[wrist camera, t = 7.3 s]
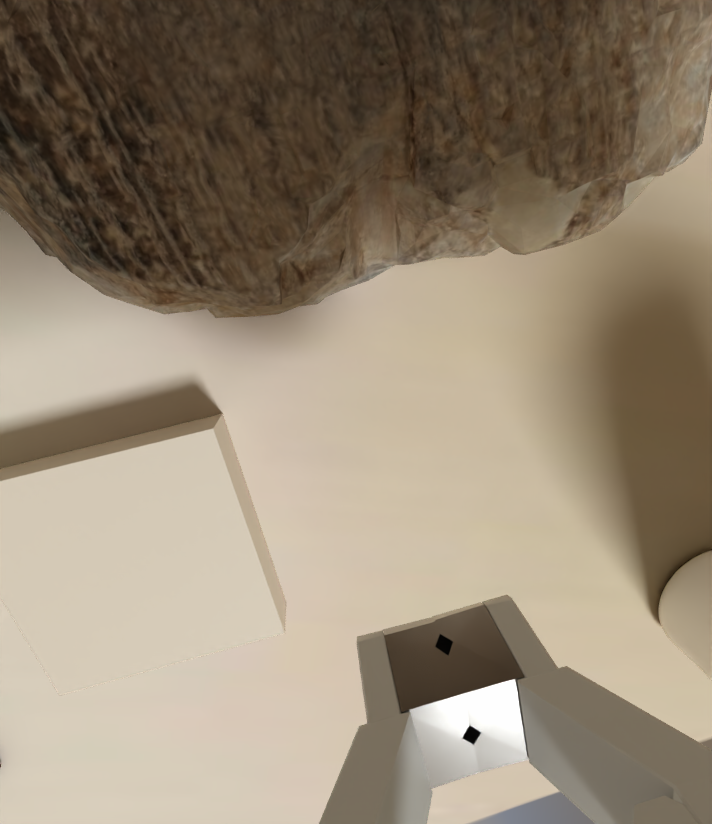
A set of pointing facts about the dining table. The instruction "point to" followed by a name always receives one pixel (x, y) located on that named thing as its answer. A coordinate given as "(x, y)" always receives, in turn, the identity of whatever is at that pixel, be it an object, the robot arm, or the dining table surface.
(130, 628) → the tile
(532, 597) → the dining table surface
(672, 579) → the drinking glass
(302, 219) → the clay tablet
